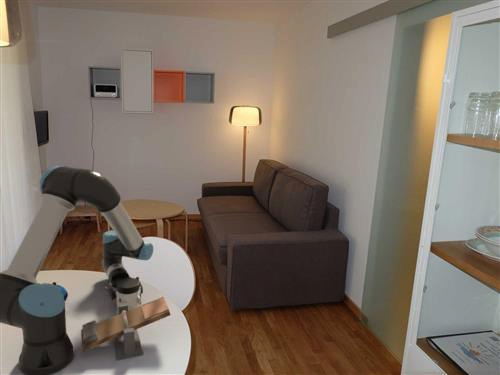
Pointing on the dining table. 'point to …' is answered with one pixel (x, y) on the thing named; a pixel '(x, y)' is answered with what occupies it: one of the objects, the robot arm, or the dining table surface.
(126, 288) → the jar
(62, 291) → the ornament
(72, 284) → the dining table surface
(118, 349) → the pivot stand
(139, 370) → the dining table surface
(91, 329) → the beam
